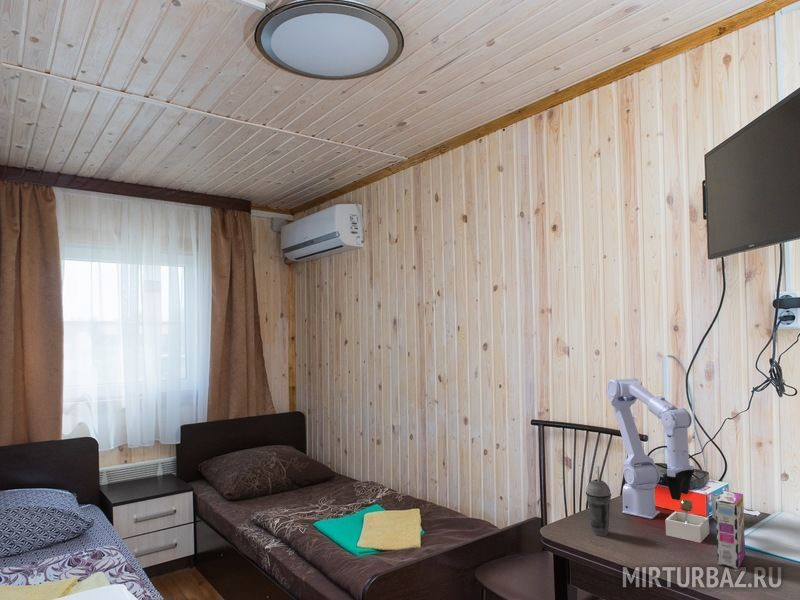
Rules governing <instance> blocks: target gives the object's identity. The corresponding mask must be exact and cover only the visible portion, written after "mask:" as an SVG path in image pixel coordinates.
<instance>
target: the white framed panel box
mask: <svg viewBox="0 0 800 600" xmlns="http://www.w3.org/2000/svg"><path fill="white" fill-rule="evenodd" d="M664 521H665V536H668V537H673V538H677V539H681V540H686V541H691V542H695V543H699V544H700V543H702V542H703V541H704V540H705V539H706V537H708V535H710V523H709V522H710V519H709V517H707V516H700V515H696V514H695V513H689V523H692V524H688V523H683V522H685V512H682V511H681V512H680V511H674V512H672V513H671V514H670V515H669V516H668V517H666V519H664ZM678 521H682V522H678ZM693 524H697V525H693Z"/></svg>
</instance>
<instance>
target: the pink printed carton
mask: <svg viewBox="0 0 800 600" xmlns="http://www.w3.org/2000/svg"><path fill="white" fill-rule="evenodd" d="M719 495H720V496H719V497H718V498H717V499H716V520H715V521H716V544H717V545H716V547H717V548H716V549H717V552H716V553H717V554H716V555H717V565H718V566H722V567H726V568H729V569H730V568H731V569H734V570H740V567H741V564H742V562H743V560H744V559H745V556H746V543H745V542H746V540H745V514H744V513H745V510H744V509H745V508H744V494H743V493H738V492H733V491H726V490H723V491H722V492H721V493H720V494H719Z"/></svg>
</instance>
